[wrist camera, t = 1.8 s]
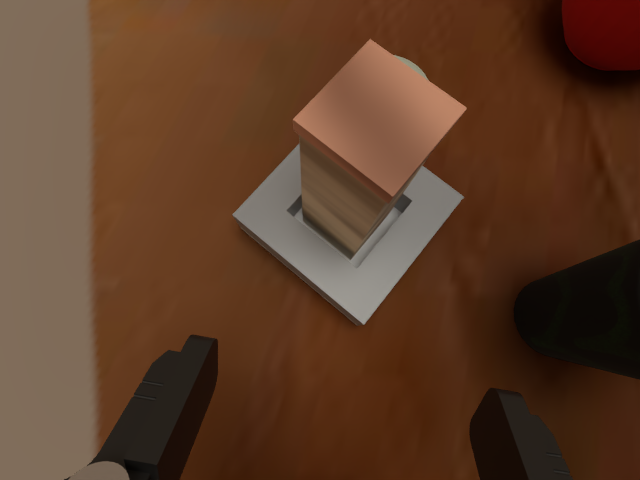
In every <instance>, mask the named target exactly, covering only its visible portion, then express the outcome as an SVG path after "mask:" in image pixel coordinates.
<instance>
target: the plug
mask: <svg viewBox="0 0 640 480" xmlns="http://www.w3.org/2000/svg"><path fill="white" fill-rule="evenodd" d="M466 109H467V108H466V107H465V106H463V105H462V104H461V103H459V102H458V101H456V100H455V99H454V98H452V97H451V96H449V95H448V94H446V93H445V92H444V91H442V90H441V89H439V88H438V87H437V86H435V85H434V84H432V83H431V82H430V81H428V80H427V79H425V78H424V77H423V76H421V75H420V74H418V73H417V72H416V71H414V70H413V69H411V68H410V67H409V66H407V65H406V64H404V63H403V62H402V61H400V60H399V59H397V58H396V57H395V56H393V55H392V54H390V53H389V52H388V51H386V50H385V49H383V48H382V47H381V46H379V45H378V44H376V43H375V42H374V41H372V40H371V39H370V40H369V41H368V42H367V43H366V44H365V45H364V46H363V47H362V48H361V49H360V50H359V51H358V52H357V53H356V54H355V55H354V57H353V58H352V59H351V60H350V61H349V62H348V63H347V64H346V65H345V66H344V67H343V68H342V69H341V70H340V71H339V72H338V73H337V74H336V75H335V76H334V77H333V78H332V79H331V80H330V81H329V83H328V84H327V85H326V86H325V87H324V88H323V89H322V90H321V91H320V92H319V93H318V94H317V95H316V96H315V97H314V98H313V99H312V100H311V101H310V102H309V103H308V104H307V105H306V106H305V108H304V109H303V110H302V111H301V112H300V113H299V114H298V115H297V116H296V117H295V118H294V119H293V127H294V131H295V132H296V133H298V134H299V142H300V166H301V189H302V213H303V222H304V223H305V224H307V225H308V226H309V227H310V228H312V229H313V230H314V231H315V232H317V233H318V234H319V235H320V236H321V237H323V238H324V239H325V240H326V241H328V242H329V243H330V244H331V245H333V246H334V247H335V248H336V249H337V250H339V251H340V252H341V253H342V254H344V255H345V256H346V257H347V258H349V259H350V260H351V259H352V258H353V257H354V256H355V254H356V253H357V252H358V251H359V250H360V248H361V247H362V246H363V245H364V243H365V242H366V241H367V240H368V239H369V237H370V236H371V235H372V234H373V233H374V231H375V230H376V229H377V228H378V227H379V225H380V224H381V223H382V222H383V220H384V219H385V218H386V217H387V216H388V214H389V213H390V212H391V210H392V209H393V207H394V206H395V204H396V203H397V201H398V200H399V198H400V197H401V196H402V194H403V193H404V191H405V190H406V188H407V187H408V185H409V184H410V183H411V181H412V180H413V178H414V177H415V175H416V174H417V172H418V171H419V170H420V168H421V167H422V165H423V164H424V162H425V161H426V159H427V158H428V157H429V155H430V154H431V152H432V151H433V150H434V149H435V148H436V146H437V145H438V144H439V143H440V142H441V140H442V139H443V138H444V137H445V136H446V134H447V133H448V132H449V131H450V130H451V128H452V127H453V126H454V125H455V124H456V122H457V121H458V120H459V119H460V117H461V116H462V114H463V113H464V112H465V110H466Z"/></svg>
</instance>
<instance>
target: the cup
mask: <svg viewBox="0 0 640 480" xmlns="http://www.w3.org/2000/svg"><path fill="white" fill-rule="evenodd" d="M514 319H515V323H516V326H517V329H518V331H519V333H520V335H521V337H522V338H523V339H524V341H525V342H526V343H527V344H528V345H529V346H530V347H531V348H533V349H534V350H535V351H537V352H539V353H541V354H543V355H546V356H549V357H553V358H557V359H561V360H565V361H569V362H573V363H577V364H581V365H585V366H589V367H593V368H597V369H601V370H604V371H608V372H612V373H616V374H620V375H624V376H628V377H632V378H636V379H640V240H637V241H635V242H632V243H630V244H627V245H625V246H622V247H620V248H617V249H615V250H612V251H609V252H607V253H604V254H602V255H599V256H597V257H594V258H592V259H589V260H587V261H584V262H582V263H579V264H577V265H574V266H572V267H569V268H567V269H564V270H561V271H559V272H556V273H554V274H551V275H549V276H546V277H544V278H541V279H539V280H536V281H534V282H531V283H530V284H528V285H527V286H525V287H524V288H523V290H522V291H521V292H520V293H519V295H518V297H517V299H516V302H515V307H514Z"/></svg>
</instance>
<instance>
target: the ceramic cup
mask: <svg viewBox="0 0 640 480" xmlns="http://www.w3.org/2000/svg"><path fill="white" fill-rule="evenodd" d="M562 21H563V28H564V38H565V42H566V44H567V46H568V48H569V50H570V51H571V52H572V54H573V55H574V56H575V57H576V58H577V59H578V60H580V61H581V62H583V63H584V64H586V65H588V66H590V67H592V68H595V69H599V70H605V71H613V70H622V71H625V70H640V0H562Z"/></svg>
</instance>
